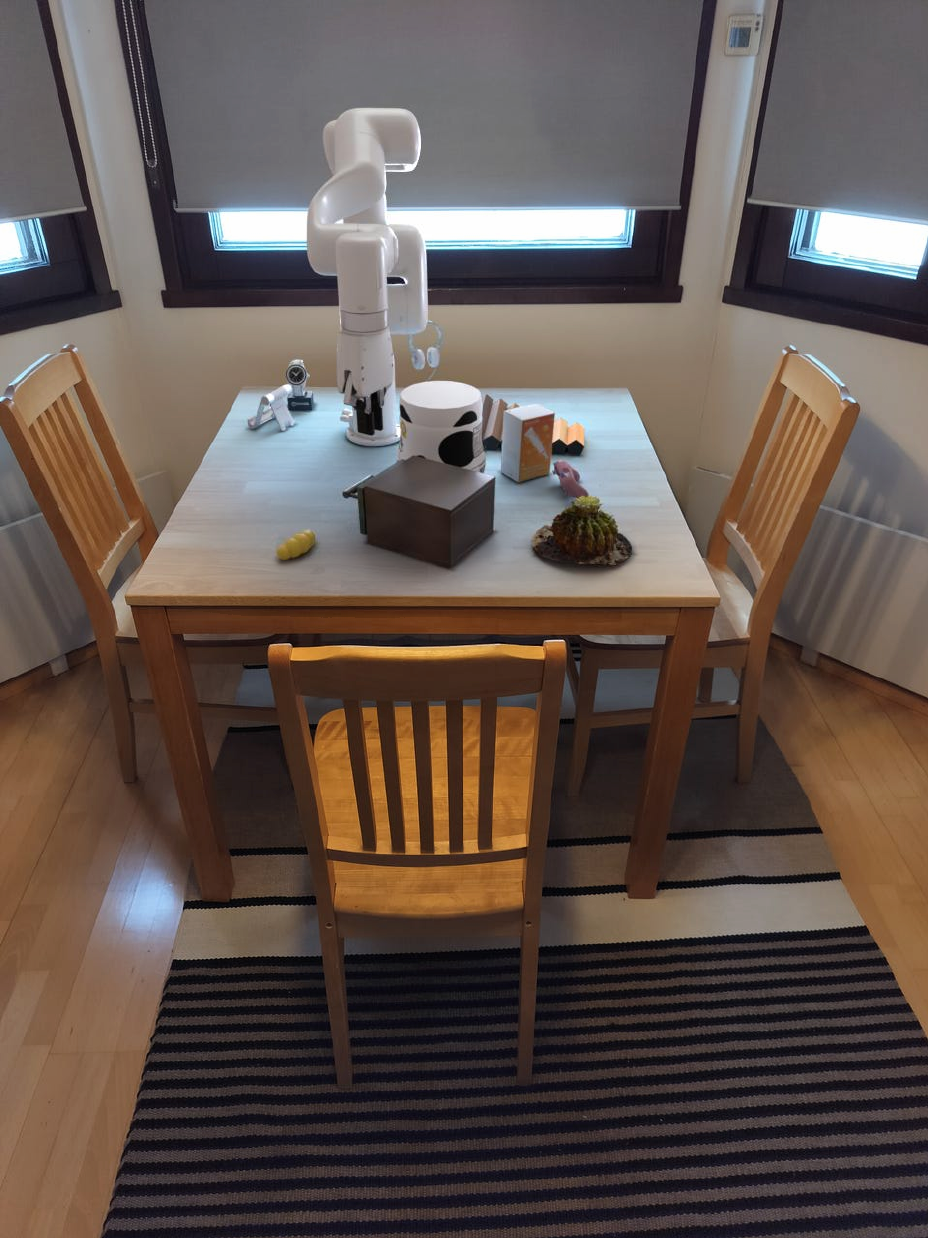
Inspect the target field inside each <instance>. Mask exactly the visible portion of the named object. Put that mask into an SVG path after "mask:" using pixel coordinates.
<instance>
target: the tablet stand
mask: <svg viewBox="0 0 928 1238" xmlns="http://www.w3.org/2000/svg"><path fill="white" fill-rule="evenodd" d="M290 393H292V387H291V386H290V385H289V383H286V384H284V385H281V386H280V387H278V388H276V389H274V390H272V391H270V392H268V393H267V394H264V395H263V396H261V398H260V402H259V405H258V409H257V412H256V414H254V415H253V416H251V417H249V418H247V426H248V428H249V429H251V430H254V429H257V428H259V426H261V425H263V424H264V423H267V422H269V421H270V420H273V419H275V421H276V422H277V424H278V427H279V428H280V430H281V432H284V431H286V430H287V428H286V426H285V424H286V423H288V425H289V427H293V426H294V425H295V422H294V420H293V418H292V414H291V413H290V411H289V410H288V405H287V404H286V401H285V399H284V398H285V397H287V396H288V394H290ZM267 406H269V407H267ZM266 407H267V408H266Z"/></svg>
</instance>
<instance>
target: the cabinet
mask: <svg viewBox="0 0 928 1238" xmlns="http://www.w3.org/2000/svg"><path fill="white" fill-rule="evenodd" d="M364 490H365V508H366V524H367V534H366V538H367V544H371V545H374V546H377V547H380V548H383V549H387V550H389V551H393V552H396V553H398V554H403V555H405V556H409V557H411V558H415V559H417V560H421V561H425V562H426V563H427V562H428V563H431V564H434V565H437V566H440V567H444V568H447V569H450V570H451V569H452V568H453V567H455V566H456V565H457V564H458V563H459V562H461V561H462V560H463V559H464V558H465V557H466V556H467V555H469V554H470V553H471V552H472V551H474V550H475V549H476V548H477V547H478V546H479V545H481V544H482V543H483V542H484V541H485V540H486V539H487V538H489V536H491V535H492V534H493V533H494V527H495V501H496V500H495V499H496V497H495V496H496V476H495V475H491V474H488V473H485V472H484V473H480V472H476V471H472V470H468V469H464V468H461V467H457V466H453V465H449V464H445V463H441V462H437V461H433V460H429V459H425V458H422V457H418V456H414V455H413V456H411V457H410V458H408V459H406V460H405V461H403V462H402V463H400V464H398V465H397V466H395V467H394V468H392V469H390V470H389V471H387V472H386V473H384V474H382V475H381V476H379V477H378V478H376V479H374V480H373V481H371V482H370V483H368V484H367V485H365V486H364Z"/></svg>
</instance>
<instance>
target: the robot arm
mask: <svg viewBox="0 0 928 1238" xmlns="http://www.w3.org/2000/svg"><path fill="white" fill-rule="evenodd" d="M322 144H323V150H324V154H325V158H326V161H327V164H328V167H329V169H330V172H331V174H332V176H331V178H329V180H327V181H326V182H324V184H323V185H322V186H321V187H320V188H319V190H318V191H317V192H316V193H315V194H314V195H313V198H312V199H311V201H310V203H309V206H308V210H307V217H306V253H307V259H308V262H309V265H310V267H311V268H312V270H313V271H314V272H315V273H317V274H319V275H322V276H336V277H337V278H336V279H337V292H338V308H339V318H340V319H339V320H340V321H339V322H340V331H339V332H338V337H337V344H336V345H337V346H336V385H337V391H338V393H339V394H343V395H344V396H343V401H342V402H343V405H344V406H348V407H349V406H350V407H351V410H350V409H347V408H344V409H342V410H341V411H342V412H341V415H340V417H339V420H340V422H344V423H348V426H349V427H348V428H347V429H346V438H347V439H348V440H349V441H350V442H352V443H353V444H356V445H359V446H365V447H384V446H388V445H393V444H396V443H398V442H400V424H399V423H397V422H398V421H397V394H396V392H397V391H396V366H395V365H396V363H395V362H396V361H395V355H394V352H393V351H394V350H393V344H392V337H391V336H392V335H409V334H414V335H415V334H416V335H417V334H420V333H423V332H424V331H425V330H426V327H427V325H428V323H427V320H428V321H429V299H428V298H429V296H428V266H427V265H428V264H427V263H428V262H427V248H426V241H425V237H424V234H423V232H422V230H421V229H420V228H419V227H418V226H416V225H413V224H409V223H389V222H388V218H387V217H388V216H387V215H388V214H387V196H386V189H387V175H386V174H387V173H386V172H399V173H400V172H402V173H403V172H411V171H413V170H414V169H415V168H416V166H417V164H418V161H419V158H420V155H421V145H422V143H421V131H420V126H419V122H418V120H417V117H416V116H415V115H414V114H413V112H412V111H410V110H408V109H406V108H397V107H355V108H350V109H347V110H346V111H344V112H342V113H341V114H340V115H339V116H338V118H337V119H334V120H330V121H328V122H327V124H325V126H324V127H323V131H322ZM341 220H342V223H339V222H340V221H341ZM337 222H338V223H337ZM394 277H395V278H398V277H399V278H401V279H403V280H404V282H405V283H403V284H402V283H395V284H392V283H391V284H390V283H389V284H388V279H387V278H394Z"/></svg>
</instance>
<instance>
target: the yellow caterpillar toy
mask: <svg viewBox="0 0 928 1238" xmlns="http://www.w3.org/2000/svg"><path fill="white" fill-rule="evenodd" d="M315 540H316V533H315V532H314V531H313V530H311V529H305V530H304V529H303V530H300V531H299V532H298V533H295V534H294V535H292V537H291V538H288V539H287V540H285V541H284V543H283V544H282V545H279V546H278V547H277V549H276V552H275V553H276V556H277V558H278V559H280V560H282V561H287V560H289V559H290V558H297V557H299V556H300V555H302V554H306V553H307V552H308V551H309V550H310V549H311V548H313V546H314V545H315V542H316V541H315Z"/></svg>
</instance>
